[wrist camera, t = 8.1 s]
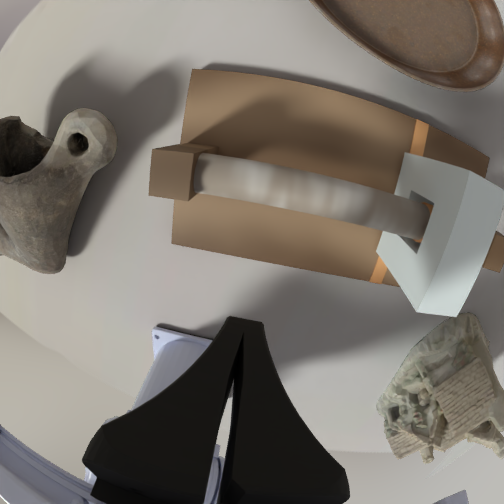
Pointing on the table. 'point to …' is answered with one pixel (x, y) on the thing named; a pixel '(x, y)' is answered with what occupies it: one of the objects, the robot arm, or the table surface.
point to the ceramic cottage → (445, 393)
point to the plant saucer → (426, 37)
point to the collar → (442, 234)
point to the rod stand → (298, 175)
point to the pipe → (48, 184)
